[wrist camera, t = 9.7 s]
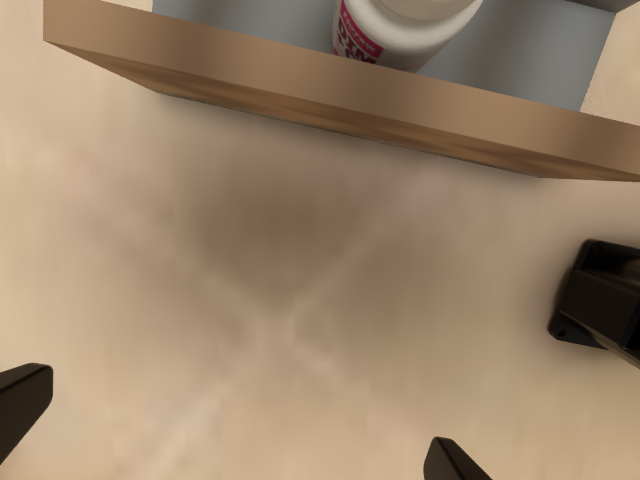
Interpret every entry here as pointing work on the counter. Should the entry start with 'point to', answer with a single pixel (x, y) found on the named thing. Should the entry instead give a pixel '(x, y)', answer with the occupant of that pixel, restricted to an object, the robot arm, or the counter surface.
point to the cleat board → (379, 76)
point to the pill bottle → (397, 29)
